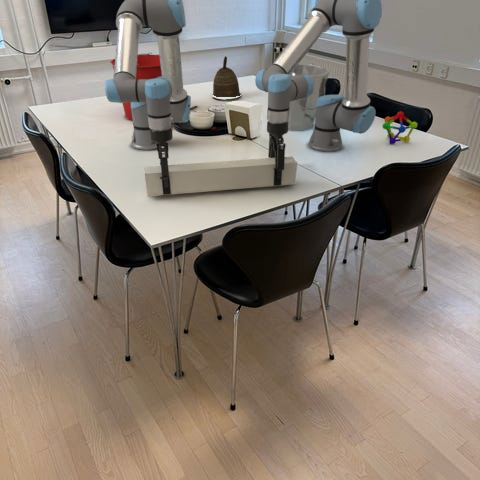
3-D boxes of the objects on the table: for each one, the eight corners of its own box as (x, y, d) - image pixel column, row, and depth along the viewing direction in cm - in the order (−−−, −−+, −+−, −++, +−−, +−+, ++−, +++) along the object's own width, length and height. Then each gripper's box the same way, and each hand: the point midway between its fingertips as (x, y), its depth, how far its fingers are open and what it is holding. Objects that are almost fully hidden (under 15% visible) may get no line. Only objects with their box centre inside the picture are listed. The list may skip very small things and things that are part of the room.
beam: (147, 196, 158) (144, 173, 153) (147, 189, 163) (144, 166, 158) (295, 184, 167) (296, 162, 162) (290, 177, 172) (292, 156, 167)
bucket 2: (296, 138, 215) (301, 78, 201) (255, 124, 234) (256, 68, 219) (335, 125, 232) (342, 70, 217) (294, 113, 251) (297, 61, 236)
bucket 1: (124, 106, 262) (117, 51, 246) (183, 106, 262) (180, 52, 246) (108, 124, 233) (99, 63, 217) (174, 124, 232) (170, 64, 216)
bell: (227, 105, 294) (202, 96, 282) (238, 66, 289) (213, 55, 277) (243, 108, 280) (217, 98, 268) (255, 66, 275) (229, 55, 263)
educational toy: (377, 146, 209) (379, 114, 202) (384, 138, 219) (386, 107, 211) (411, 149, 202) (415, 116, 195) (417, 141, 212) (420, 109, 204)
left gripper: (173, 136, 141) (178, 201, 154) (170, 118, 157) (175, 178, 170) (150, 138, 140) (157, 202, 153) (148, 119, 156) (155, 179, 168)
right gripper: (296, 129, 148) (291, 191, 161) (280, 112, 164) (278, 170, 176) (274, 130, 147) (271, 193, 159) (261, 113, 163) (259, 171, 175)
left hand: (166, 189), depth 161 cm, fingers closed on beam, 6 cm apart
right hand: (275, 181), depth 168 cm, fingers closed on beam, 6 cm apart
